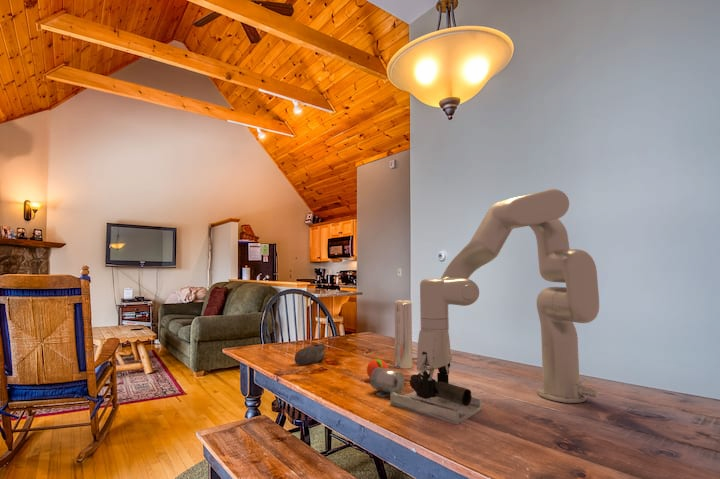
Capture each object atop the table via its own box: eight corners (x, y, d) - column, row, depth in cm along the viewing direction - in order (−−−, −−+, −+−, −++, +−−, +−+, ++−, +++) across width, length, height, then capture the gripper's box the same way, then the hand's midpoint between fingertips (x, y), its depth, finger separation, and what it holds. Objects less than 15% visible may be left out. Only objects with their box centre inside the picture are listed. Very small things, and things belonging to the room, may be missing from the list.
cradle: (481, 409, 100) (481, 398, 100) (456, 424, 90) (456, 411, 90) (418, 393, 113) (418, 382, 113) (390, 404, 103) (390, 393, 104)
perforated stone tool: (298, 368, 142) (298, 349, 143) (290, 365, 146) (290, 347, 147) (329, 361, 153) (329, 343, 153) (320, 359, 157) (321, 342, 157)
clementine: (392, 383, 123) (392, 360, 124) (373, 385, 121) (372, 362, 121) (382, 376, 131) (382, 355, 131) (363, 378, 128) (363, 357, 129)
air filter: (392, 365, 146) (392, 300, 149) (407, 364, 148) (407, 299, 150) (399, 369, 140) (398, 301, 142) (415, 368, 142) (414, 300, 144)
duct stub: (405, 393, 113) (405, 369, 113) (390, 399, 107) (390, 374, 108) (384, 388, 118) (384, 365, 119) (369, 393, 113) (369, 369, 113)
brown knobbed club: (472, 404, 98) (471, 381, 98) (458, 411, 93) (457, 388, 93) (417, 388, 110) (416, 368, 111) (402, 394, 106) (402, 373, 106)
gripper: (439, 320, 112) (440, 382, 111) (404, 326, 100) (405, 396, 98) (462, 322, 107) (464, 387, 106) (428, 329, 94) (430, 403, 93)
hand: (435, 391), depth 102 cm, fingers closed on brown knobbed club, 6 cm apart
